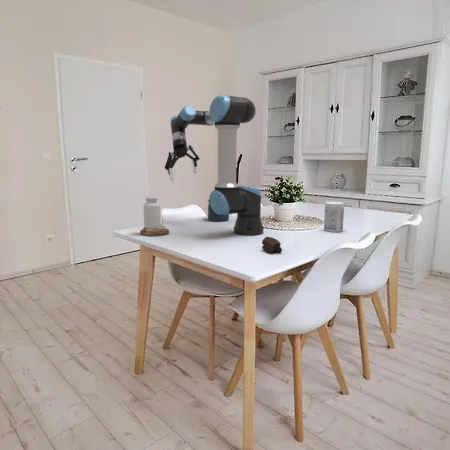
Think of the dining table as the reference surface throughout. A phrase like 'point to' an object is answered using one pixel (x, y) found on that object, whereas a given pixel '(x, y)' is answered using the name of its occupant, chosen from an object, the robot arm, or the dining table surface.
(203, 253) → the dining table surface
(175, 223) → the dining table surface
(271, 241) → the brown notched block
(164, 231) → the brown rope coil
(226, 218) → the canister
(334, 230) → the supplement tub
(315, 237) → the dining table surface
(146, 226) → the pill bottle
